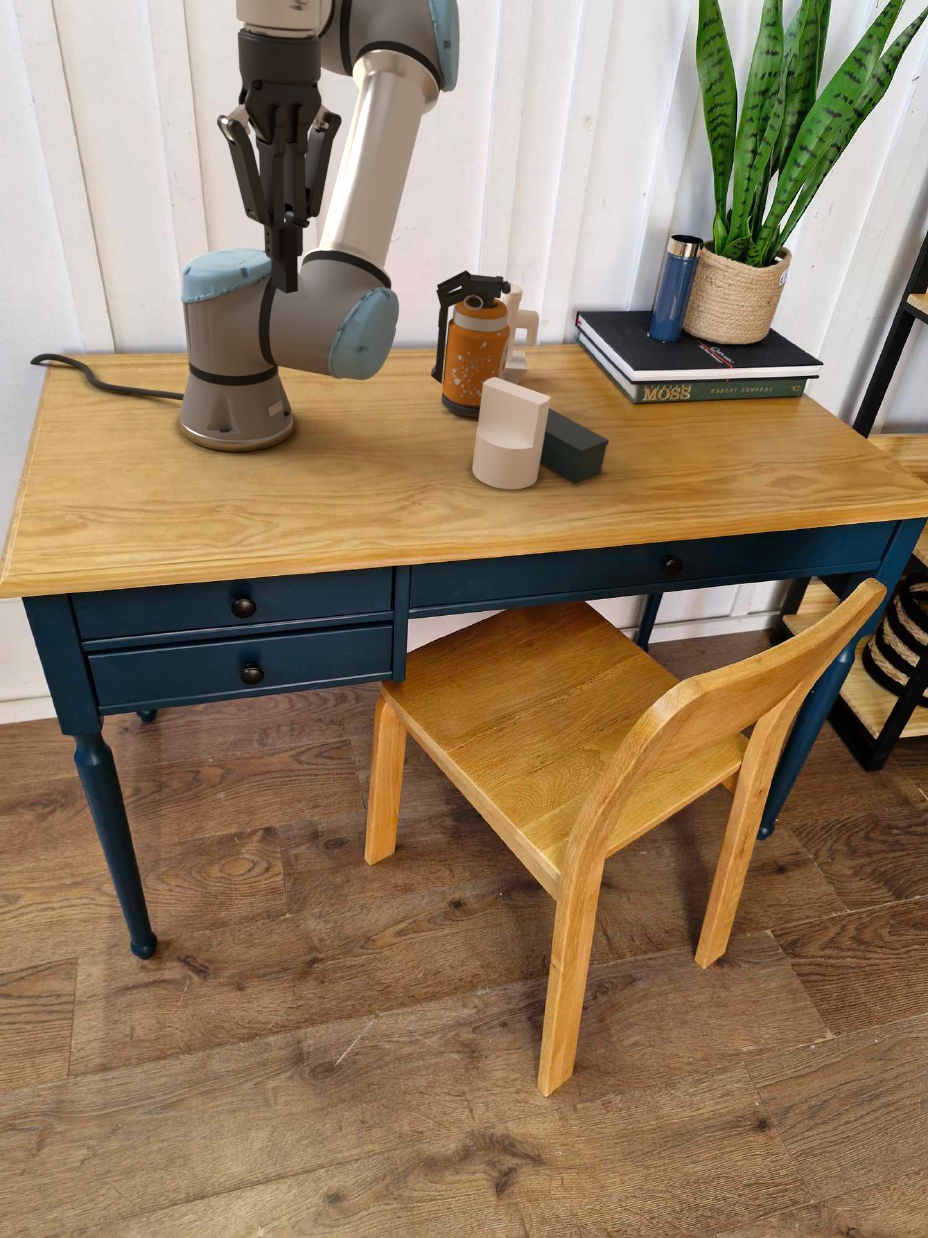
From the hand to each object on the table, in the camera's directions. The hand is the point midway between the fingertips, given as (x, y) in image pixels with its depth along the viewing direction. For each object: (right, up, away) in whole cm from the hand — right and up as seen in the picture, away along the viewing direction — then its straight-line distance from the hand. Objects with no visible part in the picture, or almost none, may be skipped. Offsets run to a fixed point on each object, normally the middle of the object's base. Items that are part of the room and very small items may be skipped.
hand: (284, 288), depth 99 cm
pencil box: (+31, -12, +32) cm, 47 cm away
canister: (+19, -3, +42) cm, 46 cm away
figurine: (+25, +3, +51) cm, 57 cm away
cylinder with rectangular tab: (+25, -16, +27) cm, 40 cm away
